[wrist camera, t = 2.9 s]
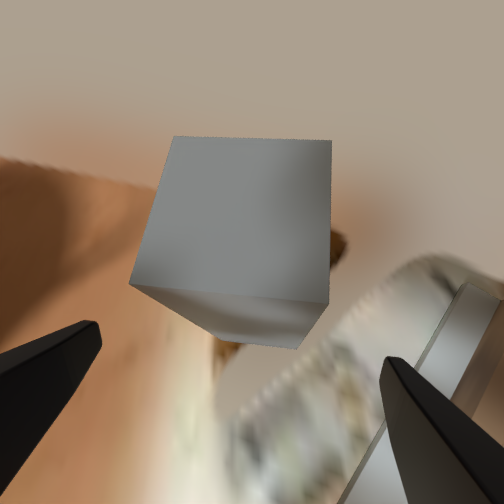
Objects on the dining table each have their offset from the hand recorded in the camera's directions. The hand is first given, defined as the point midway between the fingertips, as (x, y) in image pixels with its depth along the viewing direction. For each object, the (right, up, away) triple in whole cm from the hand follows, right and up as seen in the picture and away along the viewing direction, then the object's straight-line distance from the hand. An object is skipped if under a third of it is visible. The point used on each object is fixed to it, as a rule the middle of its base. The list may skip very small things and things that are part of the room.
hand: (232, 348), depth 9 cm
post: (+1, -1, +11) cm, 11 cm away
